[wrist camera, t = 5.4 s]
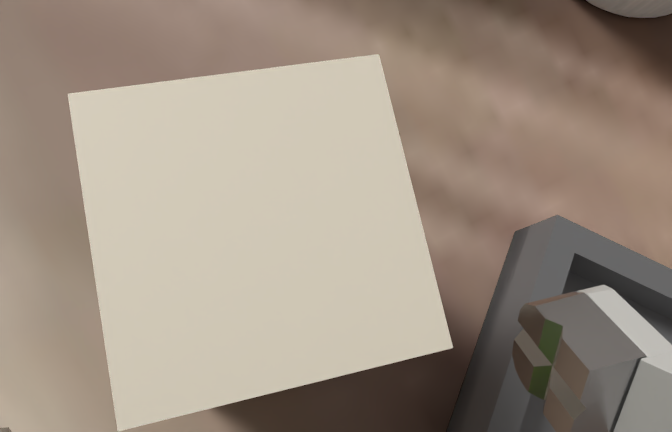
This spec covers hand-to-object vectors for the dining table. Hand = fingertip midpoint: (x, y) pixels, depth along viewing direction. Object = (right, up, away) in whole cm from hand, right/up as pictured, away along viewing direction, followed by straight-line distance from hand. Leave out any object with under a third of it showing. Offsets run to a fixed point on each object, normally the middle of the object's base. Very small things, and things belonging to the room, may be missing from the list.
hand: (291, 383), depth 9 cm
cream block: (-2, +1, +7) cm, 8 cm away
